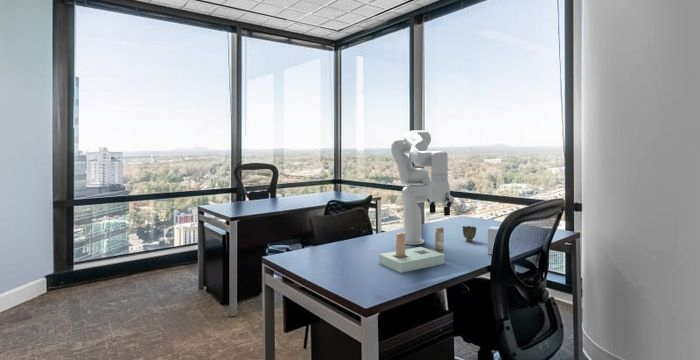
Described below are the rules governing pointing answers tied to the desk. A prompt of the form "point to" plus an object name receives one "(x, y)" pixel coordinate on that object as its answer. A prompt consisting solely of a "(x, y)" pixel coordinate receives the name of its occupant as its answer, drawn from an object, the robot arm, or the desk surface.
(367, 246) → the desk surface
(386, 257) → the peg board
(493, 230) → the supplement box
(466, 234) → the cup
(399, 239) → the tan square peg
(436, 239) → the ash peg
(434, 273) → the desk surface
